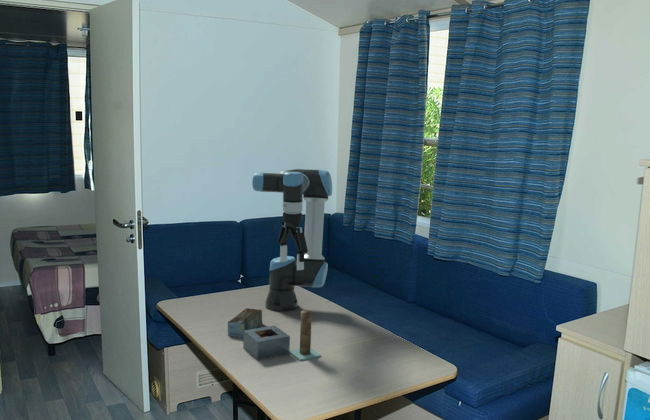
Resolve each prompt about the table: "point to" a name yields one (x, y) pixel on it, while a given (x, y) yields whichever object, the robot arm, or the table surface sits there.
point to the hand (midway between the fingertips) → (291, 265)
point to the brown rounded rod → (305, 332)
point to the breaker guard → (266, 342)
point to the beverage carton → (244, 322)
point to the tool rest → (304, 357)
